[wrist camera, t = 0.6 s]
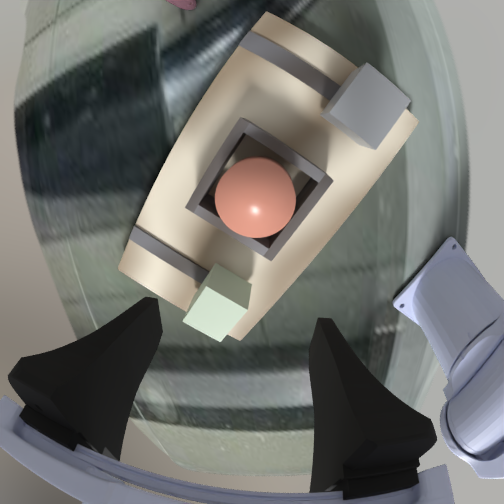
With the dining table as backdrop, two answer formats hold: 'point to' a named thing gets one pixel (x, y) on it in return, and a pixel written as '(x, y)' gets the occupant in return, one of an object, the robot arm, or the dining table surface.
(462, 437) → the robot arm
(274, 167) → the pink round button
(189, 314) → the pale green block
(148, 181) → the dining table surface
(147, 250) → the control board
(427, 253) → the dining table surface
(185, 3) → the video game controller
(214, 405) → the dining table surface
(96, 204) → the dining table surface
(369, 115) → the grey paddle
